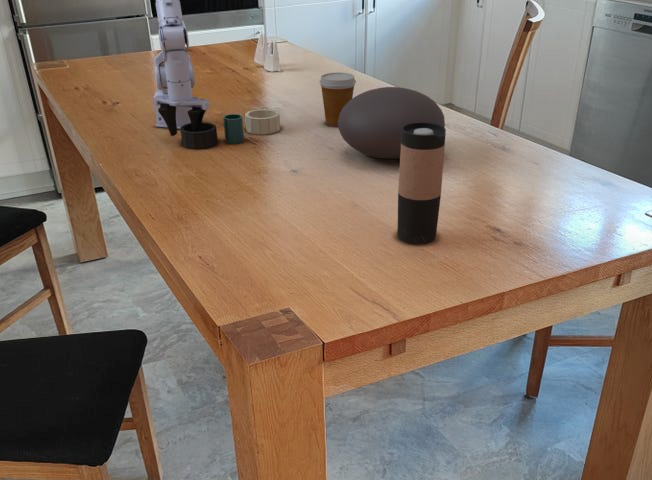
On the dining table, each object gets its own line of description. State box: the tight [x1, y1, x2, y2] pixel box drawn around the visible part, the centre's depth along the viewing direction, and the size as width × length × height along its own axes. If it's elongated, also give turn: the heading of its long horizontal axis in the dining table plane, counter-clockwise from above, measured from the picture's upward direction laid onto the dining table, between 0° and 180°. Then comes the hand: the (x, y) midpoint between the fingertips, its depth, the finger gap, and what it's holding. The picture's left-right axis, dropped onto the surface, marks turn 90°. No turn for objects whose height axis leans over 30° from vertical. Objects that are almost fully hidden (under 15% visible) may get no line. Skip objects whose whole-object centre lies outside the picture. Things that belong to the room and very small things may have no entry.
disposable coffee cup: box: [319, 72, 357, 127], centre depth 190 cm, size 10×10×12 cm
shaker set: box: [253, 32, 282, 72], centre depth 243 cm, size 12×4×11 cm, turn 34°
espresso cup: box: [222, 113, 245, 145], centre depth 180 cm, size 5×5×6 cm
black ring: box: [179, 121, 219, 150], centre depth 180 cm, size 9×9×4 cm
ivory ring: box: [244, 108, 281, 135], centre depth 188 cm, size 9×9×4 cm
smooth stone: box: [337, 86, 446, 160], centre depth 168 cm, size 25×25×15 cm
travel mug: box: [397, 122, 447, 246], centre depth 128 cm, size 8×8×20 cm
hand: (185, 136), depth 181 cm, fingers open, 6 cm apart
